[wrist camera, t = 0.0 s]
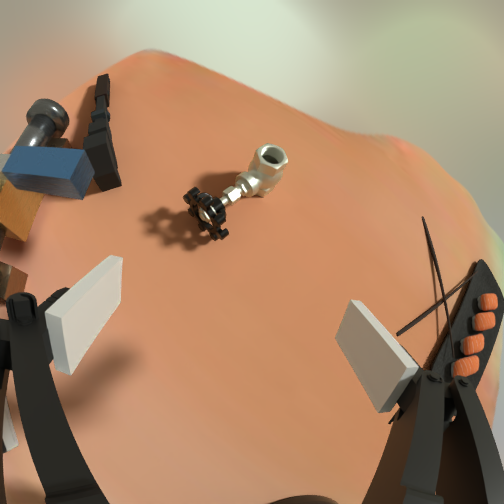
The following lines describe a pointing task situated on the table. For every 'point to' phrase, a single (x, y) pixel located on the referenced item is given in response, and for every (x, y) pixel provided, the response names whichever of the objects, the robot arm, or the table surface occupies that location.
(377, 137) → the table surface
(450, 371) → the sushi plate
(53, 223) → the table surface
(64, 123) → the pipe run
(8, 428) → the tea box
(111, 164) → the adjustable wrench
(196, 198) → the valve
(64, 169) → the lever
